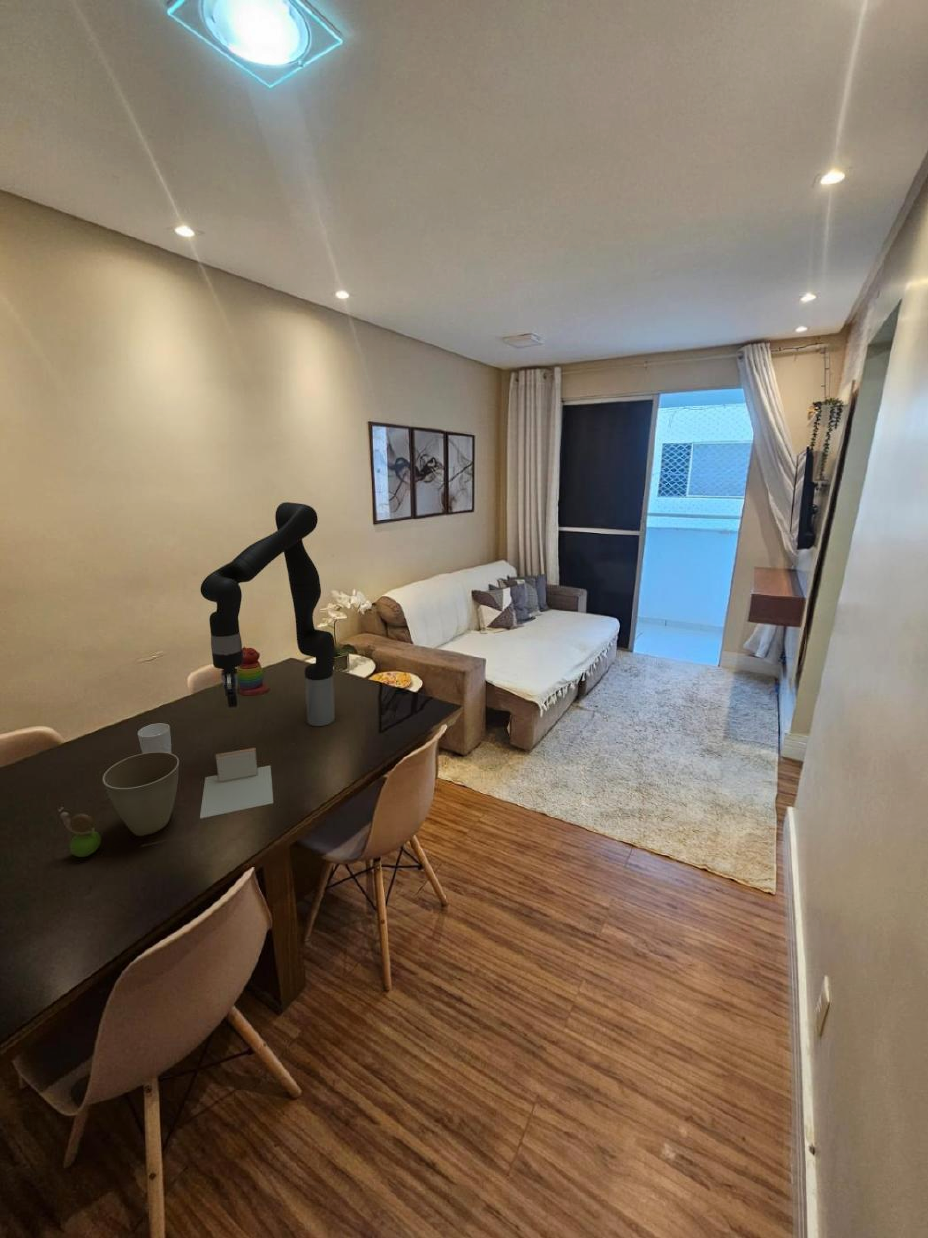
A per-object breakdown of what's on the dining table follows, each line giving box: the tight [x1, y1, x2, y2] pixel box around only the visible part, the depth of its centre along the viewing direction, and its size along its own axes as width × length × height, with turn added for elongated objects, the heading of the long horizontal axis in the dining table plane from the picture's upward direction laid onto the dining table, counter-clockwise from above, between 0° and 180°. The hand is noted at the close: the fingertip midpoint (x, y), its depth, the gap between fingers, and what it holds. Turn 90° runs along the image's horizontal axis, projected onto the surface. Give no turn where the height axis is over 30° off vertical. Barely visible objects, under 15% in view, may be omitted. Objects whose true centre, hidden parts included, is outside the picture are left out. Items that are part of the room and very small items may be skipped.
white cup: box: [137, 722, 172, 754], centre depth 141 cm, size 8×8×10 cm
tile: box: [215, 747, 258, 782], centre depth 134 cm, size 2×10×8 cm, turn 113°
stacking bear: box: [237, 646, 270, 696], centre depth 187 cm, size 11×10×18 cm
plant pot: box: [102, 752, 180, 837], centre depth 114 cm, size 15×15×16 cm
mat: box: [199, 765, 274, 819], centre depth 130 cm, size 18×17×1 cm
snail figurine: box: [58, 806, 102, 858], centre depth 106 cm, size 5×6×12 cm
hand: (232, 705), depth 136 cm, fingers closed
